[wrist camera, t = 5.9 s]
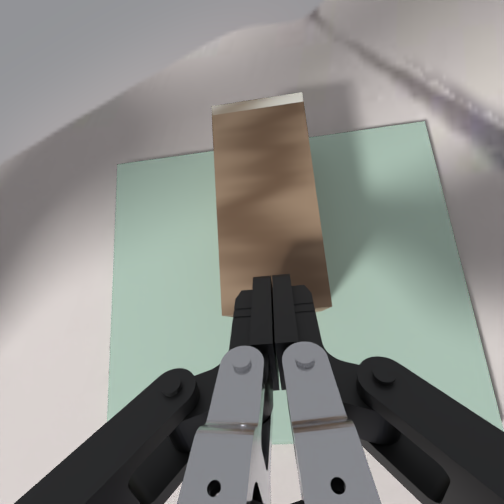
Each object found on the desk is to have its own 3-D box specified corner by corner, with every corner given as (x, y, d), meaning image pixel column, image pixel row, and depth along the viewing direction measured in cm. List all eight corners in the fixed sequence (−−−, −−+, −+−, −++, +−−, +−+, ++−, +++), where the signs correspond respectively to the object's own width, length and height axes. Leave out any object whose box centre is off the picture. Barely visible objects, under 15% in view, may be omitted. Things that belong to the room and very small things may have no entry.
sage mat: (110, 447, 18) (105, 450, 18) (121, 167, 23) (117, 164, 22) (498, 432, 16) (505, 435, 15) (421, 126, 21) (424, 121, 20)
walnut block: (222, 315, 14) (211, 106, 16) (239, 318, 18) (229, 155, 21) (332, 306, 13) (302, 92, 16) (320, 311, 18) (299, 145, 21)
